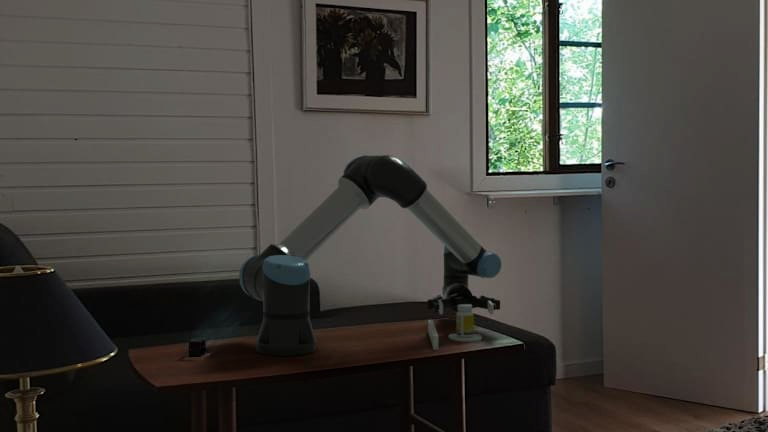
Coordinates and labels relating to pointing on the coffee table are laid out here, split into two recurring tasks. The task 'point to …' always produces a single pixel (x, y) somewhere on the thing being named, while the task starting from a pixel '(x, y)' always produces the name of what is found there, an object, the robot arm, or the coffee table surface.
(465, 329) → the supplement bottle
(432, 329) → the low wall
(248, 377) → the coffee table surface
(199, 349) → the black block
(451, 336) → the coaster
